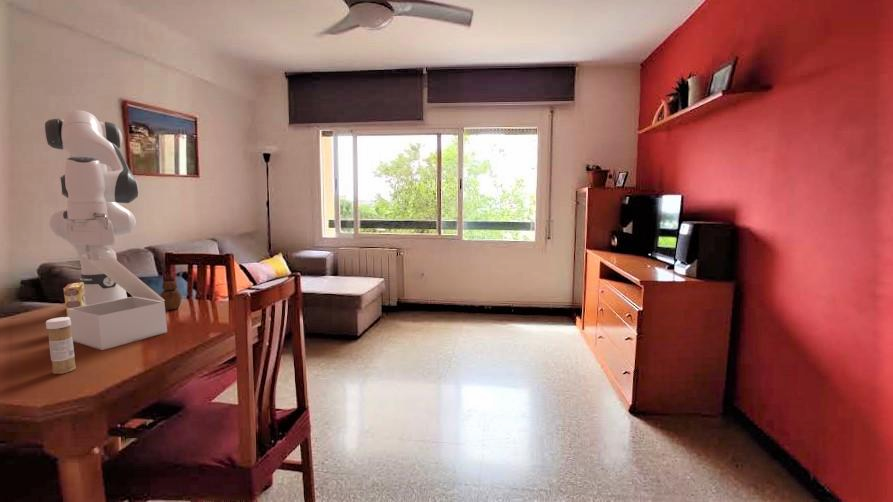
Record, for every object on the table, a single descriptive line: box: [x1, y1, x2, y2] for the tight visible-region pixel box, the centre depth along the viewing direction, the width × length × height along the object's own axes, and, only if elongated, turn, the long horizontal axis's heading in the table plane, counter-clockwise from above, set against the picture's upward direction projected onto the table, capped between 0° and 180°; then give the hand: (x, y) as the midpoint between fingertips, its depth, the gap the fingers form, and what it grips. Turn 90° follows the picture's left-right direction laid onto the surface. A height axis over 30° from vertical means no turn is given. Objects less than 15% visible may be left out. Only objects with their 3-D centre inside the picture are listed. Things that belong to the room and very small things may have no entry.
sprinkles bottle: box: [45, 316, 77, 375], centre depth 108 cm, size 5×5×13 cm
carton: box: [68, 296, 168, 351], centre depth 135 cm, size 18×18×10 cm
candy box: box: [62, 282, 86, 317], centre depth 141 cm, size 9×4×15 cm, turn 33°
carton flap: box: [82, 254, 165, 302], centre depth 136 cm, size 18×20×1 cm
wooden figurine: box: [159, 271, 182, 311], centre depth 168 cm, size 7×6×15 cm
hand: (93, 260), depth 128 cm, fingers closed, pressing on carton flap
